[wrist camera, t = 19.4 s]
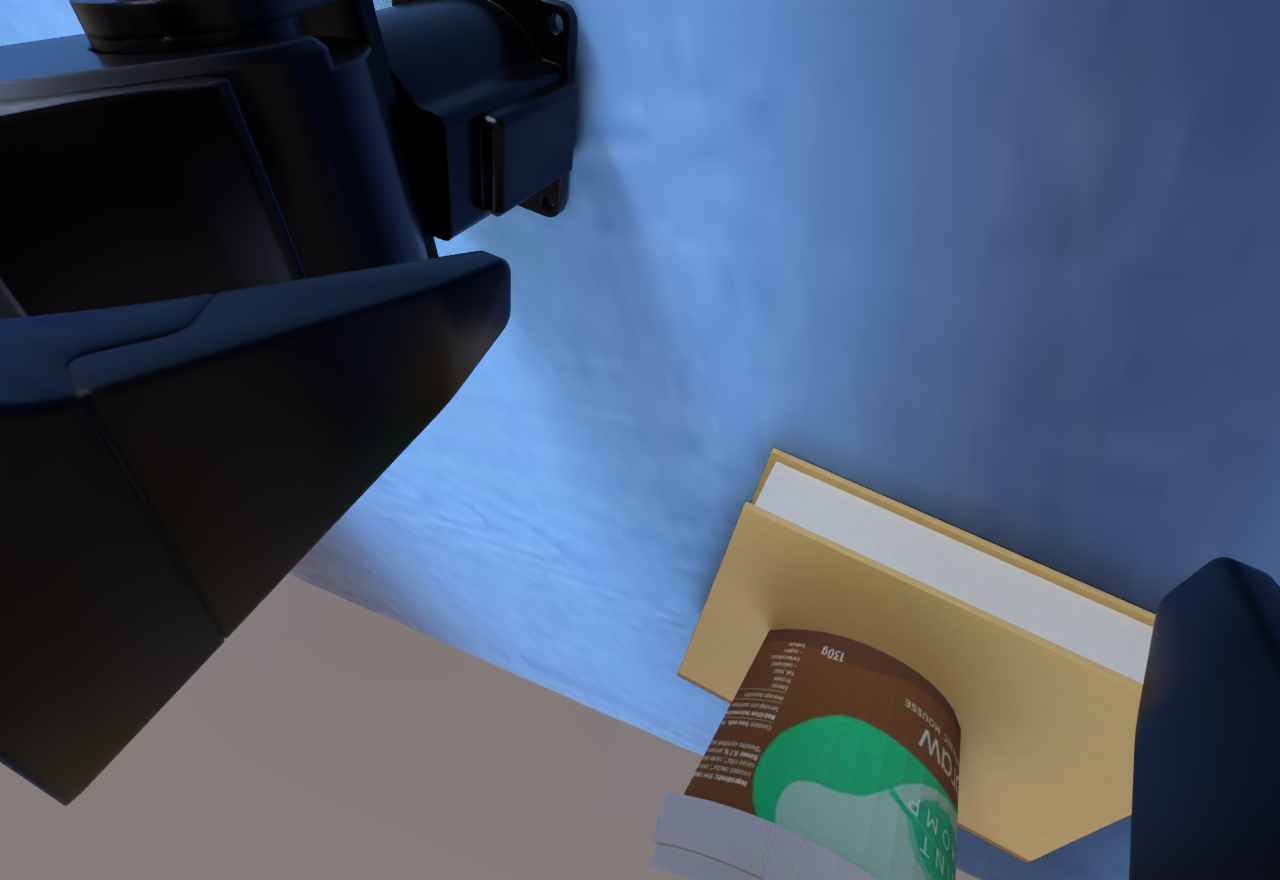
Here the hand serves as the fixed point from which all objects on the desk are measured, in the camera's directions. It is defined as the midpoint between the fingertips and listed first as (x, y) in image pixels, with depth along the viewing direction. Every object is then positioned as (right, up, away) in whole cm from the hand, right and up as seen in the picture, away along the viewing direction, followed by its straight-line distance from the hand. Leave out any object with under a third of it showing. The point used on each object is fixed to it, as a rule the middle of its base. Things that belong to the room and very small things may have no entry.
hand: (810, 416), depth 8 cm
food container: (+8, -10, +18) cm, 22 cm away
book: (+10, -9, +20) cm, 24 cm away
